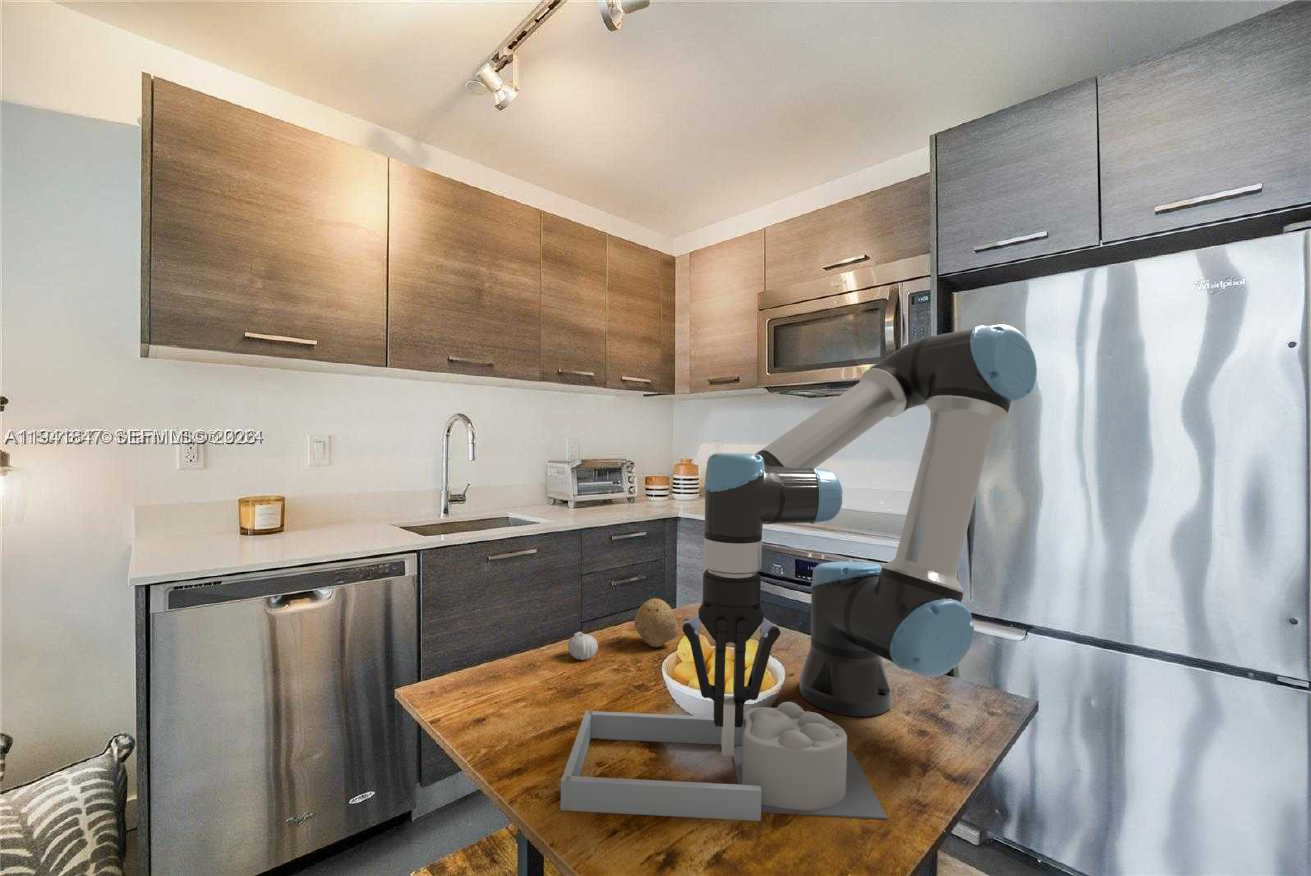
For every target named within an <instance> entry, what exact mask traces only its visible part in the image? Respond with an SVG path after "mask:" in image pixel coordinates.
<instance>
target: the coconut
mask: <svg viewBox="0 0 1311 876" xmlns="http://www.w3.org/2000/svg"><path fill="white" fill-rule="evenodd" d="M678 623H679V622H678V621H677V619H676V616H675V614H674V611H673V609H672V607H671V606H670V604H668V603H667V602H666V601H664V600H663V599H661V598H657V597H656V598H650V599H648V600H646V601H644V602H643V604H641V606H640V607H639V608H638V609H637V611H636V614H635V618H634V627H635V629H636V631H637V633H638V634H639V636H640V637H641V638H642V639H643V641H644V642H645V643H646V644H647V645H649V646H650V647H652V648H660V647H662V646H664V645H665V643H667V642H670V641H672V640H674V639H675V638H676V637H677V636H678V634H679V624H678Z"/></svg>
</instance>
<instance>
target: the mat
mask: <svg viewBox="0 0 1311 876" xmlns="http://www.w3.org/2000/svg"><path fill="white" fill-rule="evenodd" d="M732 757H733V763H734V769H735V776H736V781H737V785H742V746H741V745H734V756H732ZM762 813H764V814H766V813H767V814H782V815H783V814H784V815H799V816H801V815H803V816H820V817H822V816H823V817H836V818H837V817H840V818H856V819H857V818H858V819H875V820H888V815H887V813H886V812H885V809H884V808H883V806H882V804H881V803H880V801H879V799H878V797H877V795H876V793H875V791H874V789H873V787H872V786H871V784H870V782H869V781H868V779H867V777H866V775H865V772H864V771H863V769H862V767H861V766H860V763H859V762H858V760H857V758H856V756H855V755H854V752H853V751H851V750H850V751H849V750H847V770H846V795H845V797H844V798H843V799H842V800H841V801H840V802H838V803H837V804H835V805H833V806H830V807H826V808H823V809H819V810H795V809H786V808H779V807H773V806H768V805H763V804H761V814H762Z"/></svg>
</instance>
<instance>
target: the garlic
mask: <svg viewBox="0 0 1311 876" xmlns="http://www.w3.org/2000/svg"><path fill="white" fill-rule="evenodd" d="M598 648H599V645H598V640H597V639H596V638H594V637H593V636H592V635H591V634H587V633H583V632H582V631H578V632H576V633H574V634H573V637H570V639H569V640H568V642H567V650H568V652H569V654H570V655H571V657H573V658H574V659H576V660H579V661H585V660H588V659H591V658H593V657H594V656H595V655H596V654H597V652H598Z"/></svg>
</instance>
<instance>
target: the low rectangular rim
mask: <svg viewBox="0 0 1311 876" xmlns="http://www.w3.org/2000/svg"><path fill="white" fill-rule="evenodd" d="M721 734H722V727H720V726H715V723H714V716H708V715H706V716H705V715H683V714H682V715H681V714H664V713H663V714H662V713H660V714H659V713H644V712H643V713H641V712H640V713H639V712H638V713H637V712H621V711H620V712H618V711H617V712H616V711H597V710H594V711H593V710H585V712H584V715H583V718H582V721H581V722H580V726H579V728H578V733H577V735H576V738H575V741H574V743H573V746H572V749H571V751H570V754H569V757H568V760H567V763H566V765H565V768H564V772H563V775H562V777H561V780H560V811H568V812H569V811H570V812H585V813H586V812H587V813H604V814H606V813H607V814H624V815H625V814H626V815H627V814H628V815H643V816H657V817H658V816H660V817H677V818H678V817H680V818H695V819H697V818H698V819H699V818H700V819H715V820H716V819H717V820H735V821H736V820H737V821H739V820H740V821H750V822H751V821H757V822H762V813H761V792H762V791H761V786H757V785H738V783H737V784H736V783H735V784H734V783H733V784H732V783H719V782H718V783H716V782H715V783H713V782H696V781H695V782H694V781H693V782H692V781H675V780H674V781H672V780H659V779H658V780H653V779H637V778H618V777H617V778H616V777H597V776H596V777H595V776H580V775H581V772H582V769H583V765H584V762H585V759H586V756H587V753H588V749H589V746H590V743H591V739H594V738H595V740H597V739H596V738H598V740H599V739H600V740H615V741H616V740H617V741H635V742H636V741H638V742H656V743H657V742H660V743H681V744H684V743H685V744H700V745H701V744H702V745H704V744H705V745H720V746H721ZM742 736H743V725H742V727H735V730H734V746H742Z"/></svg>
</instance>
